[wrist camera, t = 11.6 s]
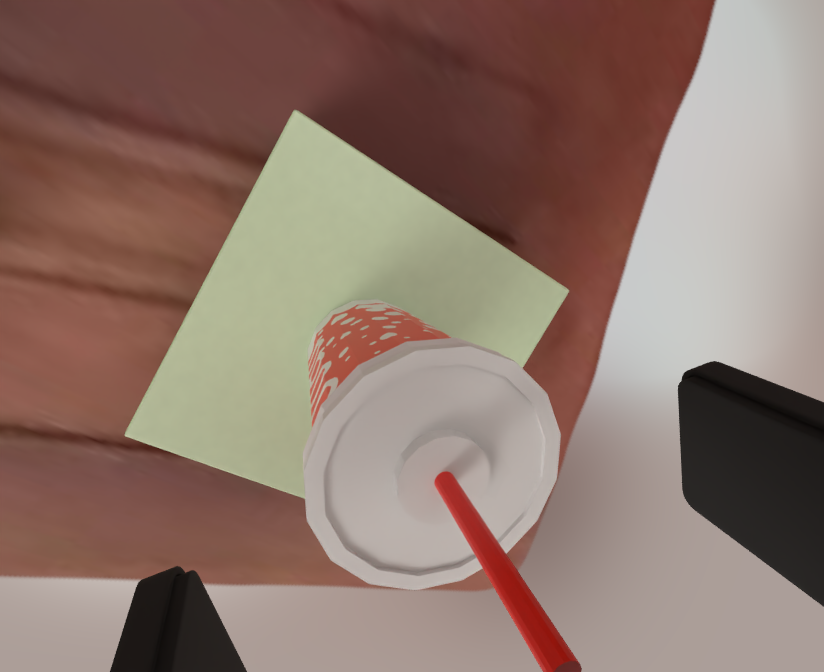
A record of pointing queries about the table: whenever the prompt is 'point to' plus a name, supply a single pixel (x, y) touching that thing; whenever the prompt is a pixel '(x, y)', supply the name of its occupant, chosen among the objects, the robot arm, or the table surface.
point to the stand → (323, 302)
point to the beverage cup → (428, 460)
